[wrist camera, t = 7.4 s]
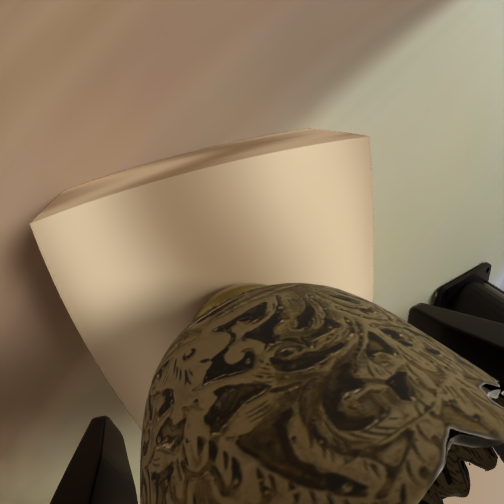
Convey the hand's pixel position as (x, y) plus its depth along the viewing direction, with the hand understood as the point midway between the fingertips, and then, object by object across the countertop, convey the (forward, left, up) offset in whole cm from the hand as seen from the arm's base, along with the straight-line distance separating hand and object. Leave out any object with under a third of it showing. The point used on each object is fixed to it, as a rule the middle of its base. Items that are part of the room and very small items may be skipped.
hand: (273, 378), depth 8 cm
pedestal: (0, 0, -7) cm, 7 cm away
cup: (0, 0, -3) cm, 3 cm away
